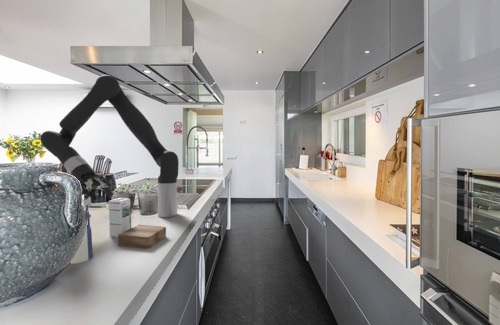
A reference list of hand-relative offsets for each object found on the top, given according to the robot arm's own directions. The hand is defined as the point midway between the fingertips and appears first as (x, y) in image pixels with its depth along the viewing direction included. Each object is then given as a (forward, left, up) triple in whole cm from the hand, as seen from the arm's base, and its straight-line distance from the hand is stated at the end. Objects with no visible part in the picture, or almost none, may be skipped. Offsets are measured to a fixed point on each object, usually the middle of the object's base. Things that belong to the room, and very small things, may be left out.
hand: (104, 198), depth 105 cm
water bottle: (+22, +9, -15) cm, 28 cm away
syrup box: (0, +7, -15) cm, 16 cm away
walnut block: (+4, +20, -14) cm, 25 cm away
